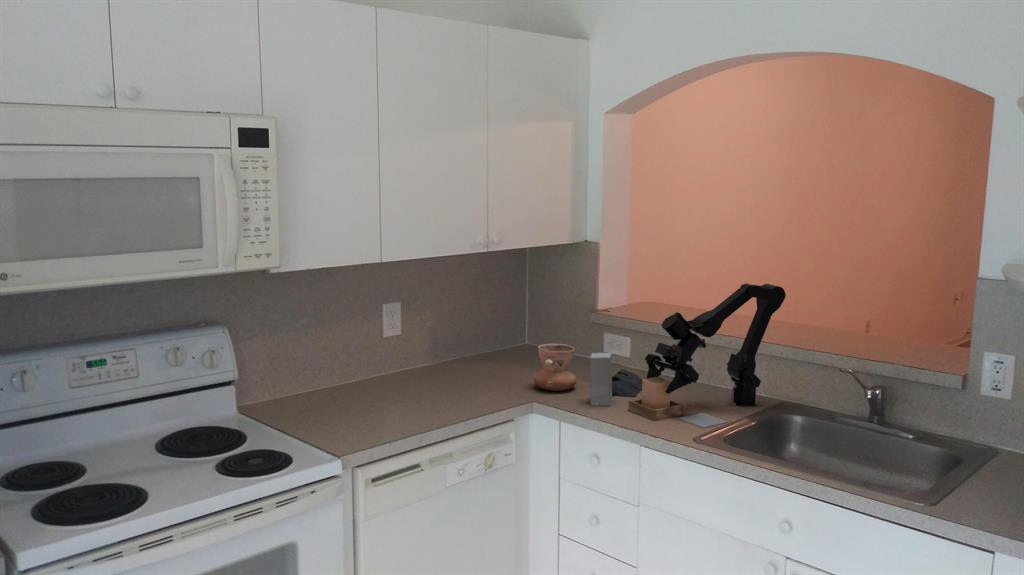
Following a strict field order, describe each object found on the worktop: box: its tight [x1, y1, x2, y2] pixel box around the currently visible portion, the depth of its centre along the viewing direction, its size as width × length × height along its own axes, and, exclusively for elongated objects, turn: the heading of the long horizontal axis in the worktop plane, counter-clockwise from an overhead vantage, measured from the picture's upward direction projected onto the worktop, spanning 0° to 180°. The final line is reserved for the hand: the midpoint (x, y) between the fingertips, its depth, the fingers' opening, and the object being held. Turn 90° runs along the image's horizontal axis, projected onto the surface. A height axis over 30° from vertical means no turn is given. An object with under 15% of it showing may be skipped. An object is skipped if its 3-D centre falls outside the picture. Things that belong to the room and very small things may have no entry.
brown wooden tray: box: [627, 397, 684, 422], centre depth 243 cm, size 12×12×4 cm
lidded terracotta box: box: [641, 376, 672, 410], centre depth 242 cm, size 6×6×10 cm
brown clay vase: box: [533, 343, 578, 392], centre depth 270 cm, size 18×14×14 cm
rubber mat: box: [678, 412, 729, 429], centre depth 236 cm, size 10×10×1 cm
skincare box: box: [589, 352, 613, 407], centre depth 253 cm, size 8×7×16 cm
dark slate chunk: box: [612, 368, 643, 398], centre depth 271 cm, size 15×22×5 cm
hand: (655, 389), depth 242 cm, fingers open, 9 cm apart
